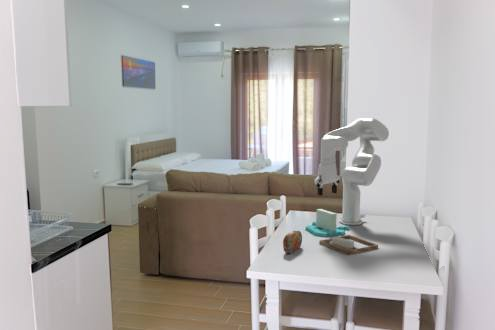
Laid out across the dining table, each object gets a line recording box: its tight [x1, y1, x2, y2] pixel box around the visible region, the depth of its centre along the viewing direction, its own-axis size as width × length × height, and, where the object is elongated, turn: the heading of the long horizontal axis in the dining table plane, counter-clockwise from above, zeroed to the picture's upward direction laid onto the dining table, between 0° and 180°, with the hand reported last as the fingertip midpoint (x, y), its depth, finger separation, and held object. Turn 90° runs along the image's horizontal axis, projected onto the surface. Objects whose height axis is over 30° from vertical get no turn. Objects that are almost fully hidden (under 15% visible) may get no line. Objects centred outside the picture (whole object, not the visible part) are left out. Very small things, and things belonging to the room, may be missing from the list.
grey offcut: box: [331, 236, 355, 248], centre depth 200 cm, size 3×10×2 cm, turn 47°
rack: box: [318, 234, 379, 256], centre depth 203 cm, size 19×19×2 cm
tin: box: [282, 230, 303, 254], centre depth 196 cm, size 15×3×8 cm, turn 148°
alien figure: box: [305, 220, 350, 238], centre depth 227 cm, size 20×2×20 cm
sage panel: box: [315, 208, 337, 231], centre depth 226 cm, size 3×12×9 cm, turn 32°
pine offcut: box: [329, 241, 354, 251], centre depth 201 cm, size 3×12×2 cm, turn 32°
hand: (327, 194), depth 225 cm, fingers open, 9 cm apart
